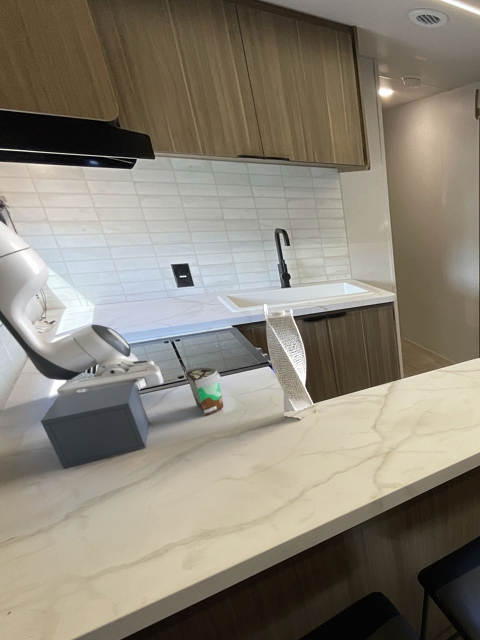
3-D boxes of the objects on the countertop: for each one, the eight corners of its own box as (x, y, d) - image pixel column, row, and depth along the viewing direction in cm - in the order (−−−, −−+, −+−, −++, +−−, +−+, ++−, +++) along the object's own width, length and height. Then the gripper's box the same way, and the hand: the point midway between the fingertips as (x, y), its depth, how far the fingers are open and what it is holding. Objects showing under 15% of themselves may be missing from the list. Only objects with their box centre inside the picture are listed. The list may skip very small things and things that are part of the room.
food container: (234, 409, 105) (224, 374, 101) (206, 417, 101) (195, 381, 97) (221, 397, 113) (211, 363, 109) (195, 404, 109) (184, 369, 105)
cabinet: (77, 439, 92) (58, 396, 88) (149, 422, 99) (134, 382, 95) (63, 468, 80) (40, 420, 77) (145, 447, 88) (128, 402, 84)
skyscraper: (276, 418, 100) (248, 306, 90) (299, 405, 106) (276, 300, 96) (300, 422, 97) (275, 308, 87) (323, 409, 104) (301, 302, 94)
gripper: (59, 375, 104) (45, 391, 94) (159, 359, 115) (157, 372, 105) (69, 397, 106) (57, 415, 96) (166, 379, 118) (165, 394, 107)
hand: (110, 392), depth 100 cm, fingers open, 8 cm apart
